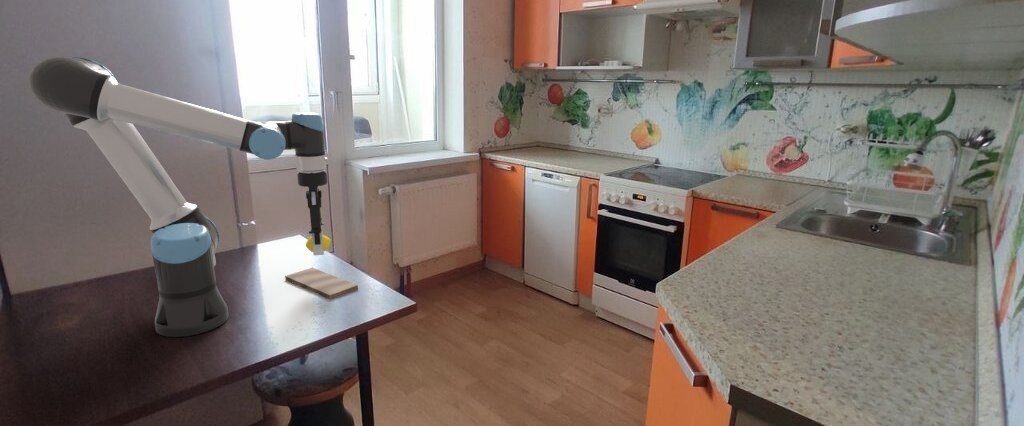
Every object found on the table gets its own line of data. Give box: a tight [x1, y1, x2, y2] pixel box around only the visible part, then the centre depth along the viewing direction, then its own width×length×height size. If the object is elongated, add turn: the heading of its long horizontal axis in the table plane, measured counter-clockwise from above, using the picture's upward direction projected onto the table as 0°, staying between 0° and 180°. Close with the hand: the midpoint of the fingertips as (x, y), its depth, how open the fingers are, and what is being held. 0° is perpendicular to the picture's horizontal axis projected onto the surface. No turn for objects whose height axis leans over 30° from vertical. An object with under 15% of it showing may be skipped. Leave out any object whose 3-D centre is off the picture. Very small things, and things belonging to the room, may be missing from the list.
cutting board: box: [284, 267, 359, 300], centre depth 148 cm, size 22×9×1 cm, turn 54°
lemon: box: [305, 234, 332, 253], centre depth 145 cm, size 7×5×5 cm
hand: (318, 251), depth 146 cm, fingers closed on lemon, 5 cm apart
